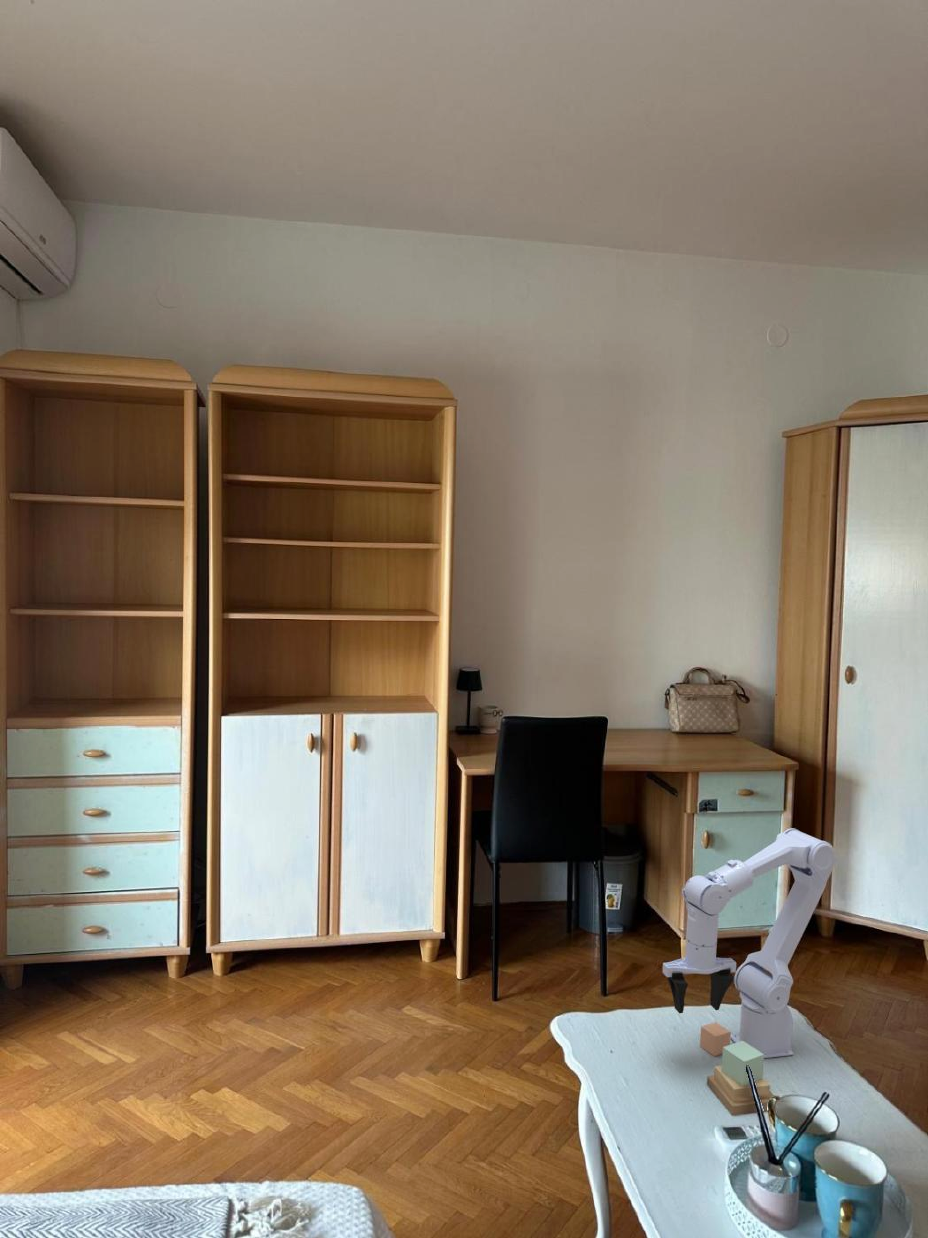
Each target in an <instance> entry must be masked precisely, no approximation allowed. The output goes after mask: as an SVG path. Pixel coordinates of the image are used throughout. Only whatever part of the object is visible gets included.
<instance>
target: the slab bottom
mask: <svg viewBox="0 0 928 1238" xmlns="http://www.w3.org/2000/svg"><path fill="white" fill-rule="evenodd" d="M706 1086H707V1087H708V1088H709V1089H710V1090H711V1092H712V1093H713V1094H714V1095H715V1097H716V1098H717V1099H718V1100H719V1101H720V1102H721V1104H722V1105H723V1107H724V1108H725V1109H726V1110H727V1111H728V1112H729V1114H730V1115H731V1116H739V1115H747V1114H756V1113H757V1114H758V1112H757V1109H756V1106H755V1101H754V1100H749V1101H741V1102H733V1101H732V1100H731V1099H730V1097H729V1096H728V1095H727V1094H726V1093H725V1091H724V1090H723V1089H722V1088H721V1086H720V1085H719V1084H718V1083H717V1082H716V1080H715V1079H714V1074H712V1075H711V1074H710V1075H707V1076H706ZM774 1096H775V1095H774V1093H772V1091H770V1096H769V1098H766V1099H760V1100H761V1103H762V1106H763V1109H764V1112H765V1113H766V1112H768V1111H767V1103H768V1101H769V1100H770V1098H772V1097H774ZM764 1112H763V1113H764Z"/></svg>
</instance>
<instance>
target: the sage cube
mask: <svg viewBox="0 0 928 1238" xmlns="http://www.w3.org/2000/svg"><path fill="white" fill-rule="evenodd" d="M721 1055H722V1058H721V1065H722V1072H723V1073H724V1074H726V1075H727V1076H728V1077H730V1078H731V1079H733V1080H734V1081H735V1082H737V1083H738V1084H740V1085H741V1086H746V1085H748V1084H749V1078H748V1074H747V1072H746V1065H749V1067H750V1069H751V1071H752V1075H753V1078H754V1080H755V1082H756V1081H759V1080H761V1079H763V1078H764V1077H763V1075H764V1059H765V1058H764V1054H762V1053H761V1052H759V1051H758V1050H756V1049H755V1048H753V1047H752V1046H750V1045H749V1044H747V1043H746V1042H744V1041H740V1042H737V1043H735V1042H733V1043H730V1045H728V1046H725V1047H723V1054H721Z"/></svg>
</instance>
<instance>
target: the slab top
mask: <svg viewBox="0 0 928 1238" xmlns="http://www.w3.org/2000/svg"><path fill="white" fill-rule="evenodd" d="M713 1069H714V1071H713V1072H714V1073H713V1075H714V1079H715V1080H716V1082H717V1083H718V1084H719V1085H720V1086H721V1088H722V1089H723V1090H724V1091H725V1093H726V1094H727V1095H728V1096H729V1097H730V1099H731V1100H732V1101H733V1102H741V1101H749V1100H754V1098H753V1095H752V1091H751V1088H750V1085H749V1084H748V1085H746V1086H741V1085H740V1084H738V1083H737V1082H735V1081H734V1080H733V1079H731V1078H730V1077H728V1076H727V1075H726V1074H724V1073H723V1072H722V1064H721V1065H714V1068H713ZM755 1083H756V1086H757V1091H758V1094H759V1097H760V1099H766V1098H769V1096H770V1092H771V1084H769V1082H768V1081H767V1080H766V1078H764V1077H763V1079H761V1080H759V1081H756V1082H755Z"/></svg>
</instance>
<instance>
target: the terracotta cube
mask: <svg viewBox="0 0 928 1238" xmlns="http://www.w3.org/2000/svg"><path fill="white" fill-rule="evenodd" d="M731 1033H732V1032H731V1031H730V1030H728V1029H727V1028H726V1027H724V1026H722V1025H721V1024H720V1023H718V1022H716V1021H715V1022H712V1023H708V1024H705V1025H701V1026H700V1038H699V1040H700V1041H699V1042H700V1043H699V1047H700V1048H703V1050H705V1051H707V1052H708V1053H710V1054H711V1055H712V1056H713V1057H717V1056H720V1055H723V1047H725V1046H728V1045H731V1035H732V1034H731Z"/></svg>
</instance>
